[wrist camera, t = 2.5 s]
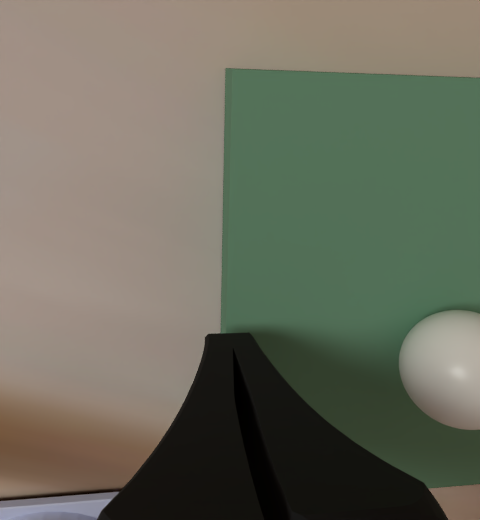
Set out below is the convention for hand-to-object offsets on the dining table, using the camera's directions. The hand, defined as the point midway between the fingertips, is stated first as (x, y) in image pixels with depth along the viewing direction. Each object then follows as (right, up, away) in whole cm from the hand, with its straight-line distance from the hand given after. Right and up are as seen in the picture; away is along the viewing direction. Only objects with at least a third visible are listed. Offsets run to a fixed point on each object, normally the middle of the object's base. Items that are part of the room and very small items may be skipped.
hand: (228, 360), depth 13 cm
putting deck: (+9, +1, +4) cm, 10 cm away
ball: (+7, 0, 0) cm, 7 cm away
